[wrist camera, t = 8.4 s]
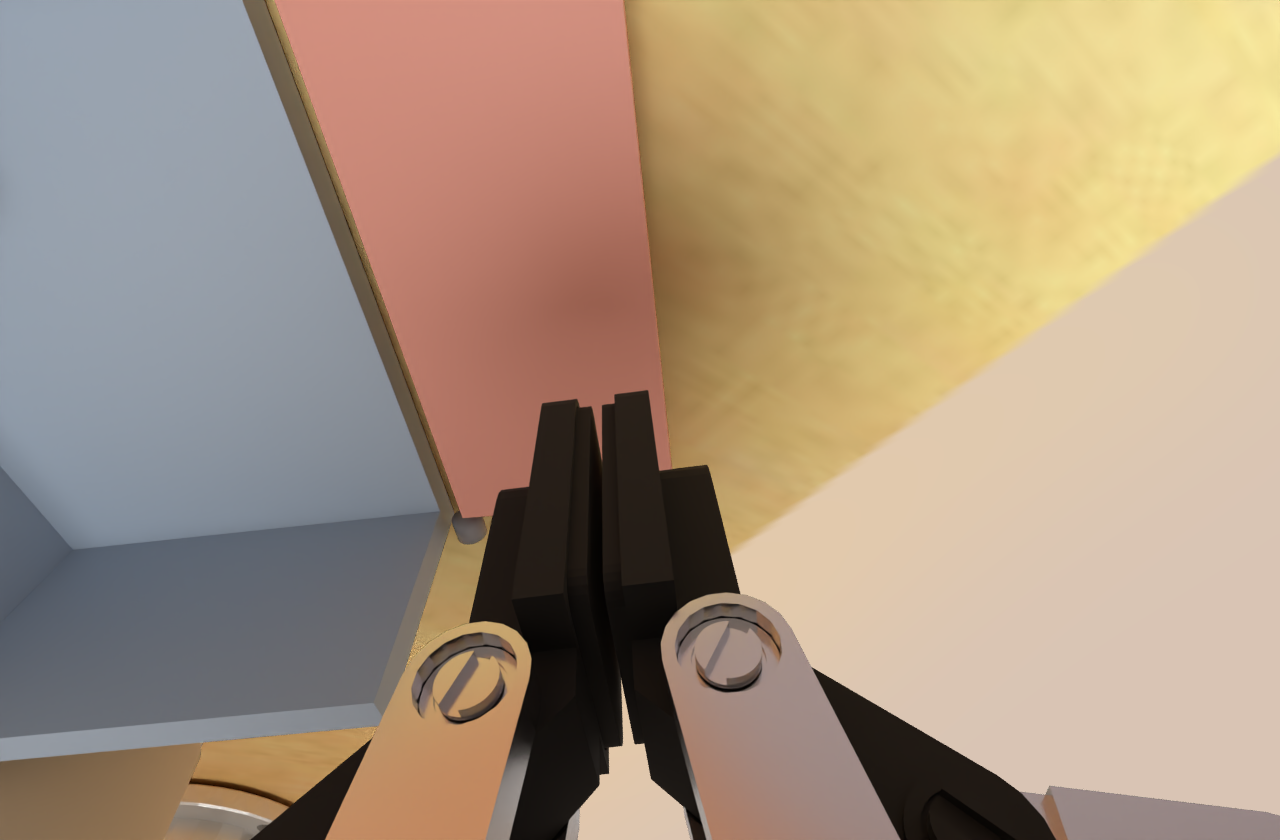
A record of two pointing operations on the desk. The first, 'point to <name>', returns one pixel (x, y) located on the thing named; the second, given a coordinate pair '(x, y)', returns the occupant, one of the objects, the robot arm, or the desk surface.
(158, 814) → the coffee cup
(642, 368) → the tailgate
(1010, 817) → the robot arm
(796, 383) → the desk surface
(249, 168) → the tray
